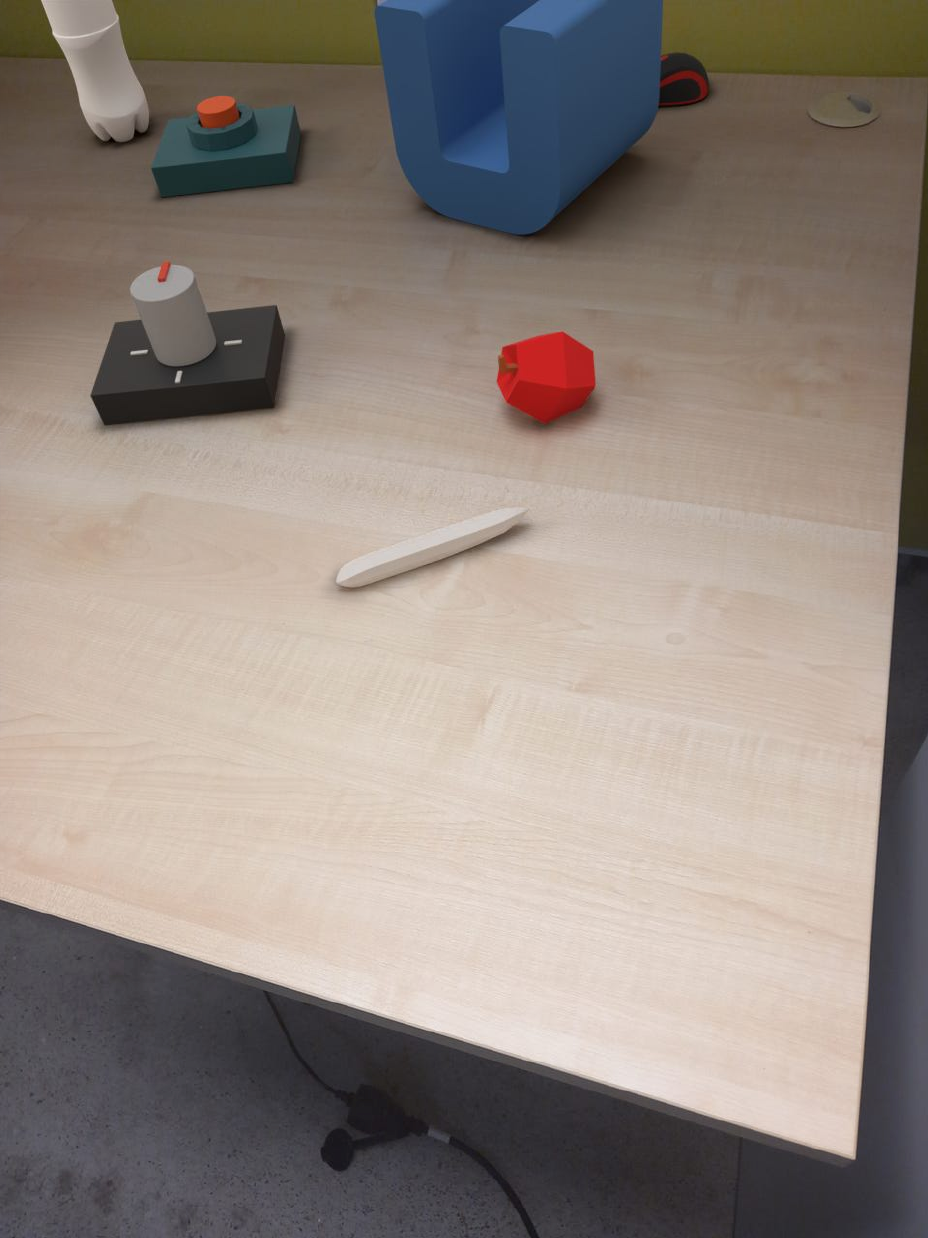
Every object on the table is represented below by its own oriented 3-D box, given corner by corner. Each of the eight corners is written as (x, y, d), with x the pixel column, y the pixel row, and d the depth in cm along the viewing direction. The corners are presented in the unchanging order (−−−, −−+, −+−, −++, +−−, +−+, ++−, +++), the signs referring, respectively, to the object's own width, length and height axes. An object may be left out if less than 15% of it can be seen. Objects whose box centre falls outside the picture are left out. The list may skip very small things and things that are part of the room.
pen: (535, 529, 70) (533, 511, 69) (341, 596, 68) (336, 579, 67) (526, 514, 71) (524, 497, 70) (334, 580, 69) (329, 563, 68)
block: (404, 205, 100) (373, 4, 87) (505, 125, 109) (490, -69, 95) (562, 246, 93) (554, 33, 79) (657, 157, 101) (665, -50, 88)
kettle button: (199, 132, 105) (194, 115, 104) (204, 114, 108) (199, 97, 107) (237, 127, 105) (232, 110, 104) (241, 110, 108) (237, 93, 106)
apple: (598, 308, 77) (500, 297, 74) (622, 374, 73) (520, 366, 71) (564, 374, 82) (471, 366, 79) (585, 438, 79) (489, 433, 76)
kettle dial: (212, 363, 81) (187, 293, 77) (150, 369, 82) (122, 300, 77) (220, 326, 85) (197, 257, 80) (161, 333, 85) (134, 264, 80)
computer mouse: (600, 91, 112) (600, 52, 109) (699, 75, 112) (702, 36, 109) (612, 116, 108) (613, 77, 105) (715, 100, 108) (718, 60, 105)
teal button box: (161, 197, 107) (144, 150, 103) (177, 148, 114) (162, 102, 110) (292, 182, 106) (281, 133, 102) (301, 133, 113) (290, 86, 109)
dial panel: (104, 425, 83) (89, 393, 80) (127, 351, 89) (114, 320, 87) (274, 408, 82) (264, 375, 79) (285, 334, 88) (276, 302, 86)
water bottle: (164, 131, 117) (78, -131, 98) (106, 153, 115) (7, -110, 96) (141, 112, 121) (54, -143, 102) (84, 133, 119) (-15, -123, 100)
